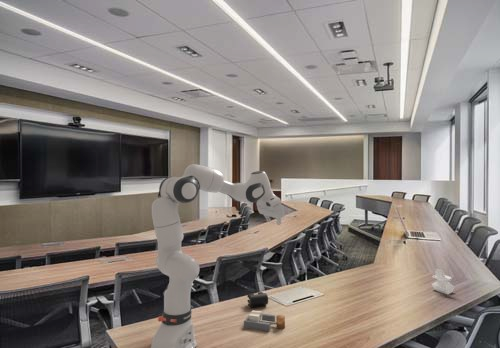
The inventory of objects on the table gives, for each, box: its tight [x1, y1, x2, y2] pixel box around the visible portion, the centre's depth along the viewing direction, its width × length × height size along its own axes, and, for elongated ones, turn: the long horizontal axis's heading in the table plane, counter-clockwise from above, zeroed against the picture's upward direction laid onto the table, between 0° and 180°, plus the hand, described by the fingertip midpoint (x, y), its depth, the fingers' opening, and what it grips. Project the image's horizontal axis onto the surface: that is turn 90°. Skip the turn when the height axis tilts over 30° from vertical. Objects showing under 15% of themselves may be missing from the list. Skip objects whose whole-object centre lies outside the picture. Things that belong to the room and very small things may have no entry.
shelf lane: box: [243, 312, 276, 332], centre depth 160 cm, size 11×12×3 cm
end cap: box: [246, 291, 269, 309], centre depth 183 cm, size 10×7×7 cm
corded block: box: [248, 310, 286, 330], centre depth 159 cm, size 6×17×5 cm, turn 71°
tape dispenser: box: [431, 268, 456, 295], centre depth 204 cm, size 8×14×14 cm, turn 21°
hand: (274, 222), depth 178 cm, fingers open, 8 cm apart
